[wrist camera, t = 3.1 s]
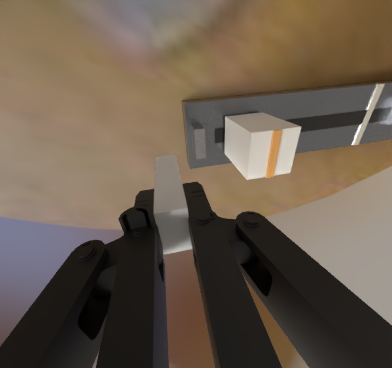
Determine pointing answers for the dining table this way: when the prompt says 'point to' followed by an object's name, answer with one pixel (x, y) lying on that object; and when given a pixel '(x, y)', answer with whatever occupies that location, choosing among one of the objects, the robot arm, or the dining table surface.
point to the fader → (260, 144)
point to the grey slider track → (293, 118)
